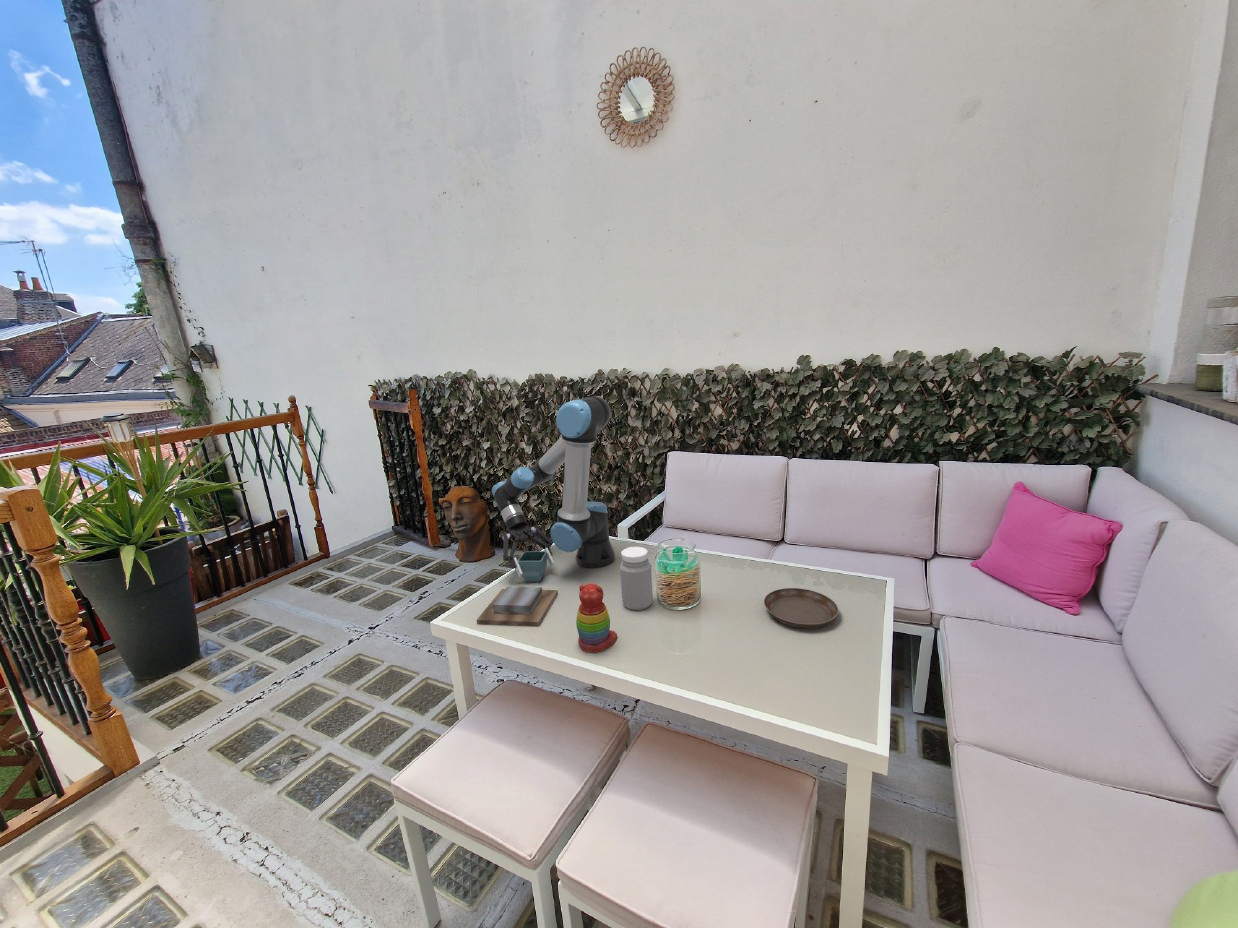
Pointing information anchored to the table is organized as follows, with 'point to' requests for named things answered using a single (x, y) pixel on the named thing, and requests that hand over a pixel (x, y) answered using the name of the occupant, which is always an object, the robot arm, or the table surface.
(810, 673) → the table surface
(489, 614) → the build base
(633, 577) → the jar
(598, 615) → the stacking bear
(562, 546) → the robot arm
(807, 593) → the plant saucer
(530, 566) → the flower pot
